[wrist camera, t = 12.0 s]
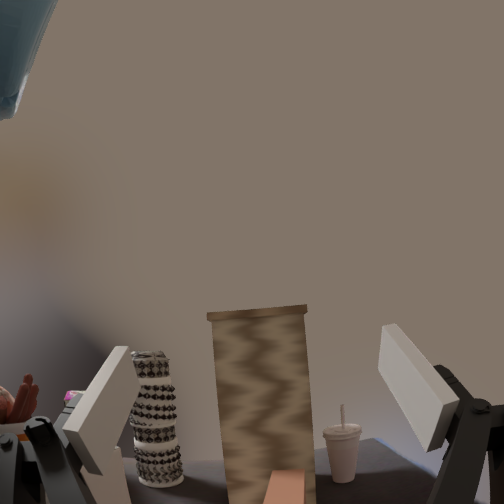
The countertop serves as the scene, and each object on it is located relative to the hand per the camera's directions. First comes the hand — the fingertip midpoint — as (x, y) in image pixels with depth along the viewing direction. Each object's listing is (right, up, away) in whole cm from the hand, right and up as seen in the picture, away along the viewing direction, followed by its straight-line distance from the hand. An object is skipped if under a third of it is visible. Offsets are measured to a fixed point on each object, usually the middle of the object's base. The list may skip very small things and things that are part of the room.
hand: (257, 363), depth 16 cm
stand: (+3, -33, +25) cm, 41 cm away
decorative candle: (-17, -36, +31) cm, 51 cm away
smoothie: (+15, -32, +27) cm, 45 cm away
